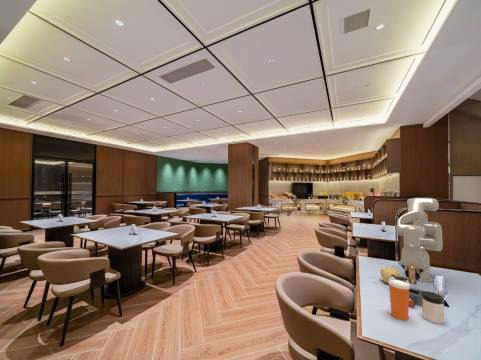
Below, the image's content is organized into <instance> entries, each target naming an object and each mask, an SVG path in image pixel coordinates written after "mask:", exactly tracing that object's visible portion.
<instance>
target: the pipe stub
mask: <svg viewBox="0 0 481 360" xmlns="http://www.w3.org/2000/svg"><path fill="white" fill-rule="evenodd" d="M407 267H408V278H407V279H408V280H407V282H408V283H409V284H411V285H418V280H416V273H417V270H416V268H415V267H411V266H407Z"/></svg>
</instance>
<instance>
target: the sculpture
mask: <svg viewBox="0 0 481 360" xmlns="http://www.w3.org/2000/svg"><path fill="white" fill-rule="evenodd" d="M392 274H393V275H395V276H400V277H403V276H402V274H401V273H400V272H399V269H397V268H393V267H390V266H387V267H384V268H380V275H381V278H382V280H383V281H384V283H385V284H388V283H389V279H390V277H391V275H392Z"/></svg>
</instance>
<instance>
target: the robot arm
mask: <svg viewBox="0 0 481 360" xmlns="http://www.w3.org/2000/svg"><path fill="white" fill-rule="evenodd" d="M406 204H407V206H408V207H407V213H404V214H403V215H401V216H400V217H399V218H398V220H397V222H396V227H395V228H396V229H395V231H396V233H397V235H399V236H401V237H402V236H403V247H402V249H401V256H400V257H401V259H400V260H399V261H398V262H397V264H398V265H399V266H400V267H402V269H403V270H404V275H405V278H407V279H408V267H407V266H411V267H415V268H416V270H417V273H416V280H417V281H420V282H425V283H432V282H433V281H434V279H433V278H432V277H431V269H430V267H431V264H430V263H431V262H430V255H429V253H428V251H433V252H441V251H442V250H443V246H444V245H443V244H444V243H443V229H442V224H440V223H439V222H433V221H428V220H429V219H428V214H427V212H426V211H429V212H431V211H432V212H437V211H438V210H439V205H440V204H439V201H438V199H436V198H432V197H413V198H408V199H407V201H406ZM407 223H412V224H407ZM427 235H428V236H427Z"/></svg>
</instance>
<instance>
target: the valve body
mask: <svg viewBox="0 0 481 360" xmlns="http://www.w3.org/2000/svg"><path fill="white" fill-rule="evenodd" d="M423 291H424V290H421V289H418V288H415V287H414V288H413V287H412V286H410V289H409V308H412V309H414V308H415V307H416V306H418V307H422V292H423Z"/></svg>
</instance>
